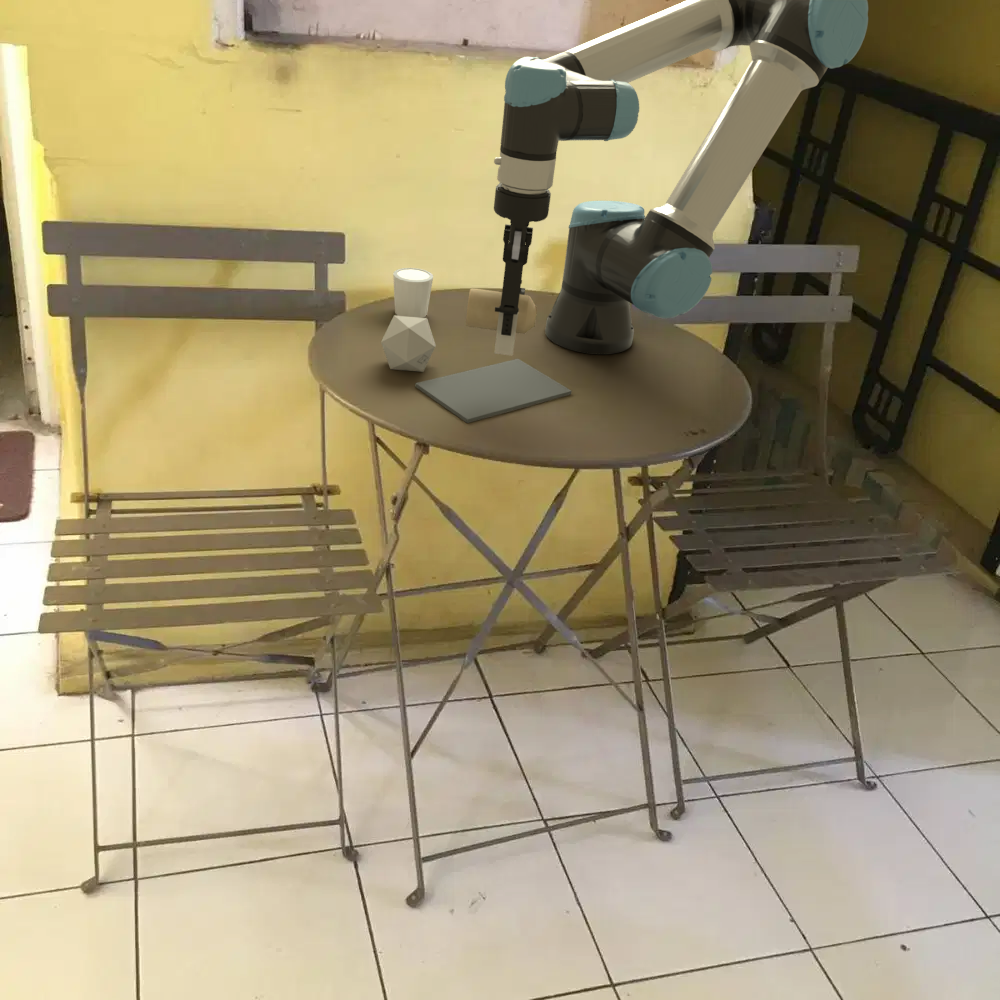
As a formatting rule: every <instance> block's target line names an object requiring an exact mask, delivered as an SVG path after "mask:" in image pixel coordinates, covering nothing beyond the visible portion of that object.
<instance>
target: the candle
mask: <svg viewBox="0 0 1000 1000" xmlns="http://www.w3.org/2000/svg"><path fill="white" fill-rule="evenodd" d="M501 298H502V291H497V290H496V291H495V290H491V289H482V288H481V289H480V288H473V287H472V288H470V289H469V294H468V300H467V306H466V318H465V326H466V327H467V328H468V327H469V328H475V329H481V330H482V329H483V330H491V331H497V325H498V317H499V312H495V307H499V306H500V305H501ZM518 308H519V312H518V319H517V327H516V334H520V335H521V334H522V335H525V334H526V333H528V332H529V331H530V330H531V329H533V328H534V327H535V326H536V320H537V315H538V308H537V305H535V302H534V301H533V299H532V298H531V296H530V295H528V294H527V295H526V294H525V295H521V294H520V295H519V303H518Z"/></svg>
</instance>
